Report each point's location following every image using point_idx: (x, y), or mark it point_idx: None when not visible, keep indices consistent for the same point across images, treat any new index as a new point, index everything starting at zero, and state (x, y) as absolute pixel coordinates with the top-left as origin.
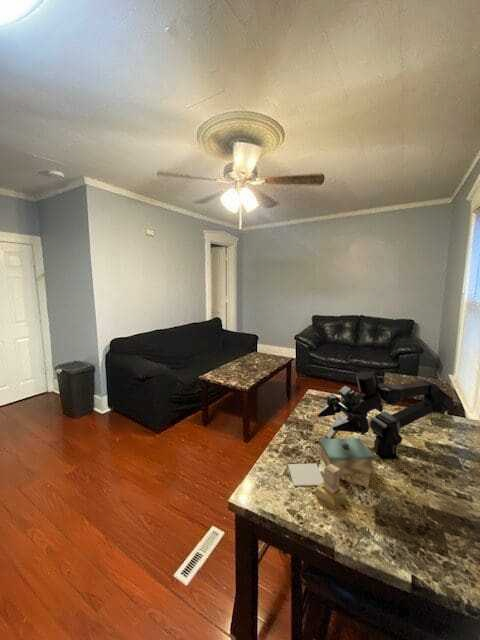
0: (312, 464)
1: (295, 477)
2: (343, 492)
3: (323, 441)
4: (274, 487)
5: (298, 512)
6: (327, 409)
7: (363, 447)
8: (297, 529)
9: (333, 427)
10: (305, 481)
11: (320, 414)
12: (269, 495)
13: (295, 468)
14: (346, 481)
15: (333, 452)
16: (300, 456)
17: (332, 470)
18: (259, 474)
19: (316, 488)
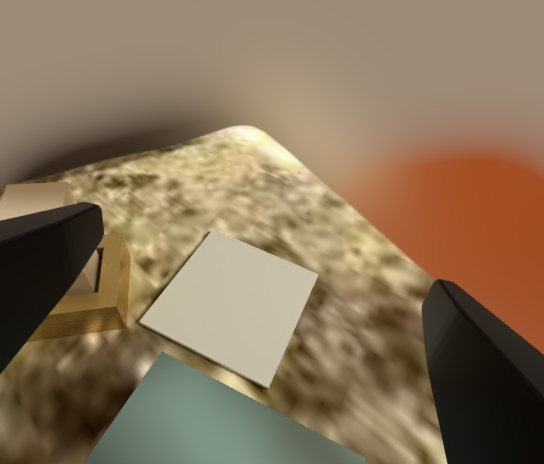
0: (270, 363)
1: (239, 253)
2: None
3: (328, 461)
4: (242, 192)
5: (127, 189)
6: (534, 449)
7: None
8: (94, 163)
9: (81, 203)
10: (202, 268)
11: (439, 311)
12: (223, 171)
13: (282, 282)
14: (79, 440)
15: (181, 419)
16: (353, 361)
17: (22, 195)
18: (311, 189)
19: (120, 235)
